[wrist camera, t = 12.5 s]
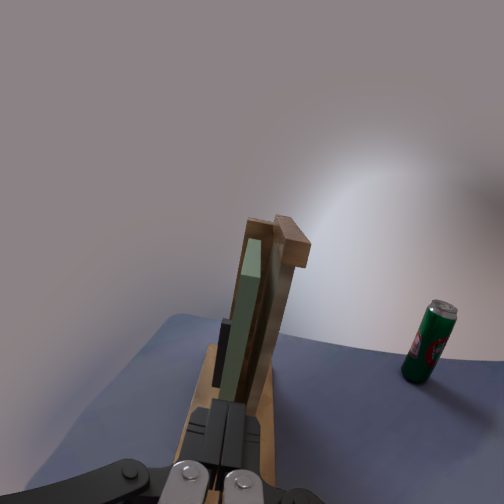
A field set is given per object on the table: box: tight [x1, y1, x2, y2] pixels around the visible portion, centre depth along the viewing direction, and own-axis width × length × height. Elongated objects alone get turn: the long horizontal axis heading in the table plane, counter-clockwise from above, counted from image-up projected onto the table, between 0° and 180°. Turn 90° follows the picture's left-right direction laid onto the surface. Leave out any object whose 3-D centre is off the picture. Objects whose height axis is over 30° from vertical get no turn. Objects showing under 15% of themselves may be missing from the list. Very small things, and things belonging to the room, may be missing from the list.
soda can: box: [401, 300, 458, 384], centre depth 34 cm, size 5×5×12 cm
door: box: [211, 238, 261, 415], centre depth 24 cm, size 2×11×15 cm, turn 178°
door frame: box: [173, 215, 311, 504], centre depth 21 cm, size 8×25×19 cm, turn 178°
